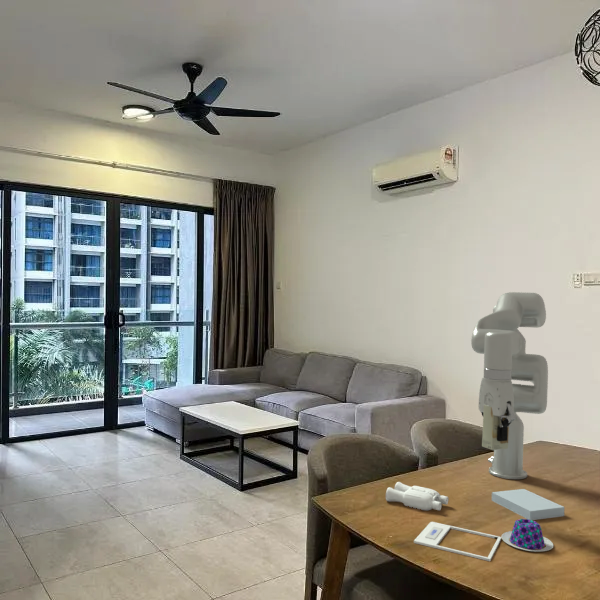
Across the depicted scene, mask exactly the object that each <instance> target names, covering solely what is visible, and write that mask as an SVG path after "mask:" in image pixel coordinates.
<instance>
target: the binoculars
mask: <svg viewBox="0 0 600 600" xmlns="http://www.w3.org/2000/svg"><path fill="white" fill-rule="evenodd" d="M385 500H386V502H396V503H403V506H405V507H408V506H409V507H408V508H412V507H413V508H412V509H416V508H417V510H420V509H421V510H422V511H431V510H432V509H433V510H437V511H441V509H442V505H448V503H449V497H448V496H445V495H441V494H440V493H439V492H438V491H436V490H435V489H432V488H428V487H423V486H419V485H413V486H410V485H407V484H405V483H402V482H401V481H397V482H396V483H395V485H394V488H393V487H391V486H390V487H387V489H386V492H385Z"/></svg>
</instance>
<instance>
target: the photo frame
mask: <svg viewBox="0 0 600 600" xmlns="http://www.w3.org/2000/svg"><path fill="white" fill-rule="evenodd" d="M450 530H455V531H458V532H459V531H460V532H463V533H469V534H472V535H473V534H474V535H478V536H482V537H487V538H491V539H495V538H496V541H495V543H494V544H493V546H492V549H491V550H490V552H489V554H488V556H483V555H479V554H474V553H471V552H467V551H462V550H458V549H454V548H452V547H451V548H450V547H446V546H443V545H439V544H440V543H441V541H442V540H443V539H444V537H445V536H446V535H447V534H448V532H449V531H450ZM501 541H502V537H501V536H499V535H494V534H490V533H485V532H480V531H476V530H471V529H467V528H462V527H457V526H453V525H449V524H443V523H440V522H436V521H430V522H428V524H427V525H426V526H425V528H424V529H422V530H421V532H420V533H419V535H417V537H416V538H415V539H414V540H413V544H417V545H421V546H425V547H429V548H433V549H436V550H437V549H438V550H442V551H446V552H450V553H454V554H458V555H461V556H462V555H463V556H466V557H469V558H470V557H471V558H475V559H477V560H478V559H479V560H482V561H487V562H491V560H492V559H493V556H494V554H495V553H496V550H497V548H498V547H499V545H500V543H501Z"/></svg>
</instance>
